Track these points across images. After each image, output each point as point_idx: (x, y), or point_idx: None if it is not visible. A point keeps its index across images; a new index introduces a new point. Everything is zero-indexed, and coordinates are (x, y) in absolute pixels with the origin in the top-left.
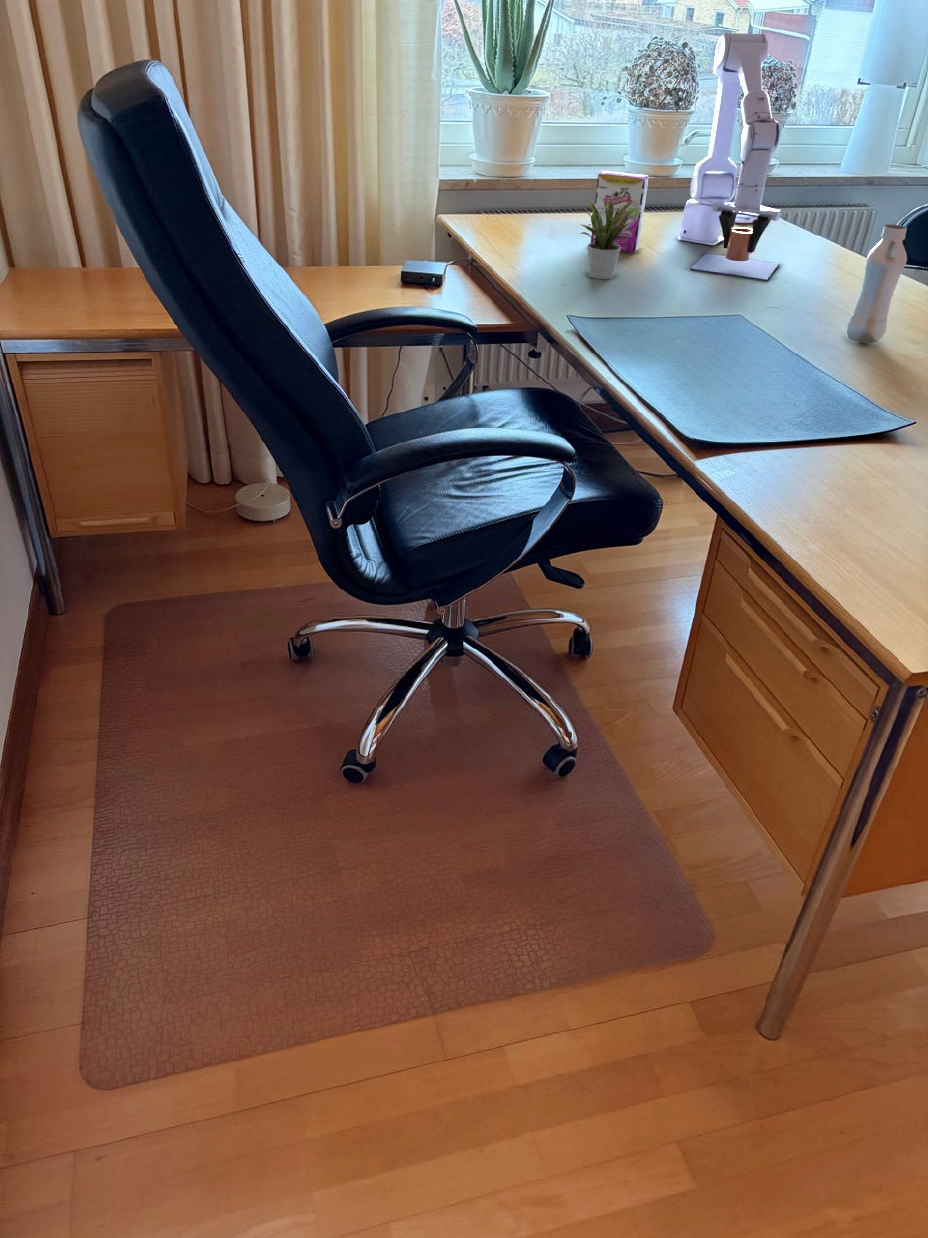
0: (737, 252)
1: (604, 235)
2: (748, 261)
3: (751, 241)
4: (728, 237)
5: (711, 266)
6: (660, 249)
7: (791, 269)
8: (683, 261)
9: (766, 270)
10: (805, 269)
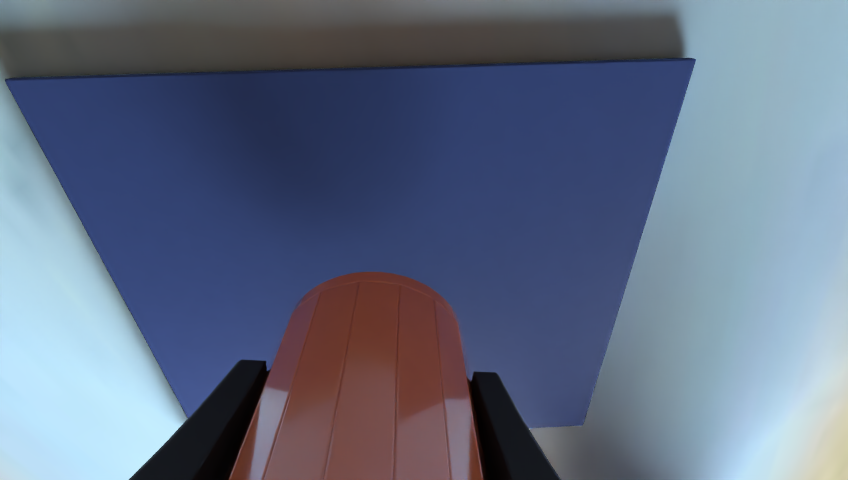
0: (346, 313)
1: None
2: None
3: (199, 443)
4: (489, 473)
5: (526, 213)
6: (822, 394)
7: (107, 405)
8: (719, 256)
9: (174, 310)
10: (59, 433)
